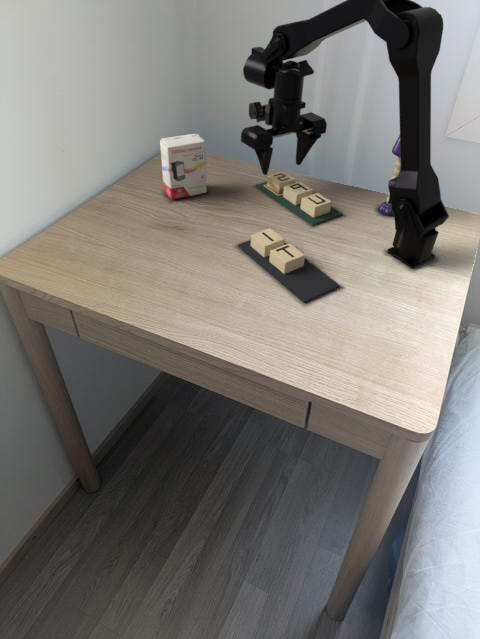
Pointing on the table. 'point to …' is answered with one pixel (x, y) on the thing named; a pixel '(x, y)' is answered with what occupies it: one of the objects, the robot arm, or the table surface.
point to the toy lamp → (386, 207)
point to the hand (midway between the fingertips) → (281, 169)
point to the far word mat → (296, 208)
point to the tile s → (279, 181)
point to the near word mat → (297, 278)
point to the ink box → (183, 165)
